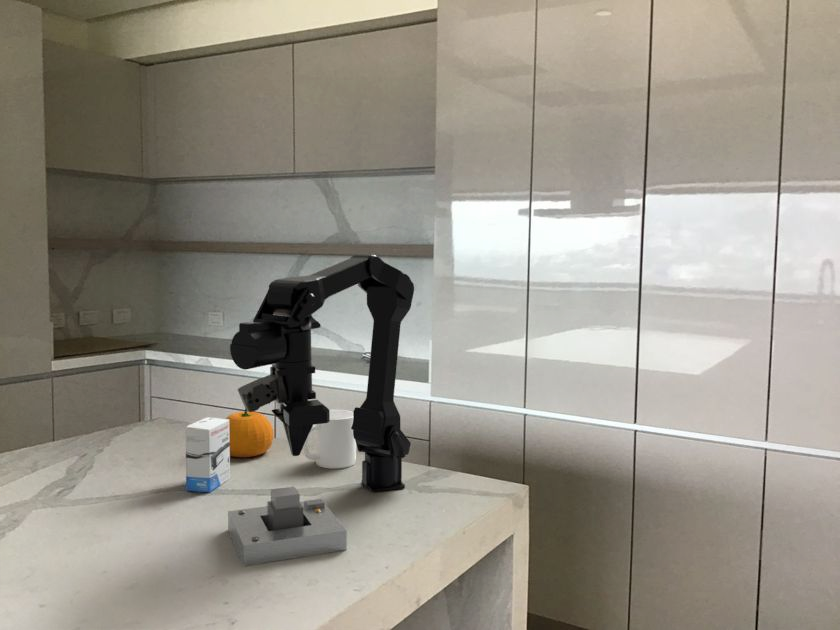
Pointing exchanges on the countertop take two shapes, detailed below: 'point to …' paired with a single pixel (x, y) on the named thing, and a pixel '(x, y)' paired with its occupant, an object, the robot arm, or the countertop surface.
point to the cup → (334, 441)
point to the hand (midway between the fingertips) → (295, 455)
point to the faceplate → (285, 534)
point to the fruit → (249, 434)
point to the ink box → (207, 454)
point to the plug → (284, 509)
